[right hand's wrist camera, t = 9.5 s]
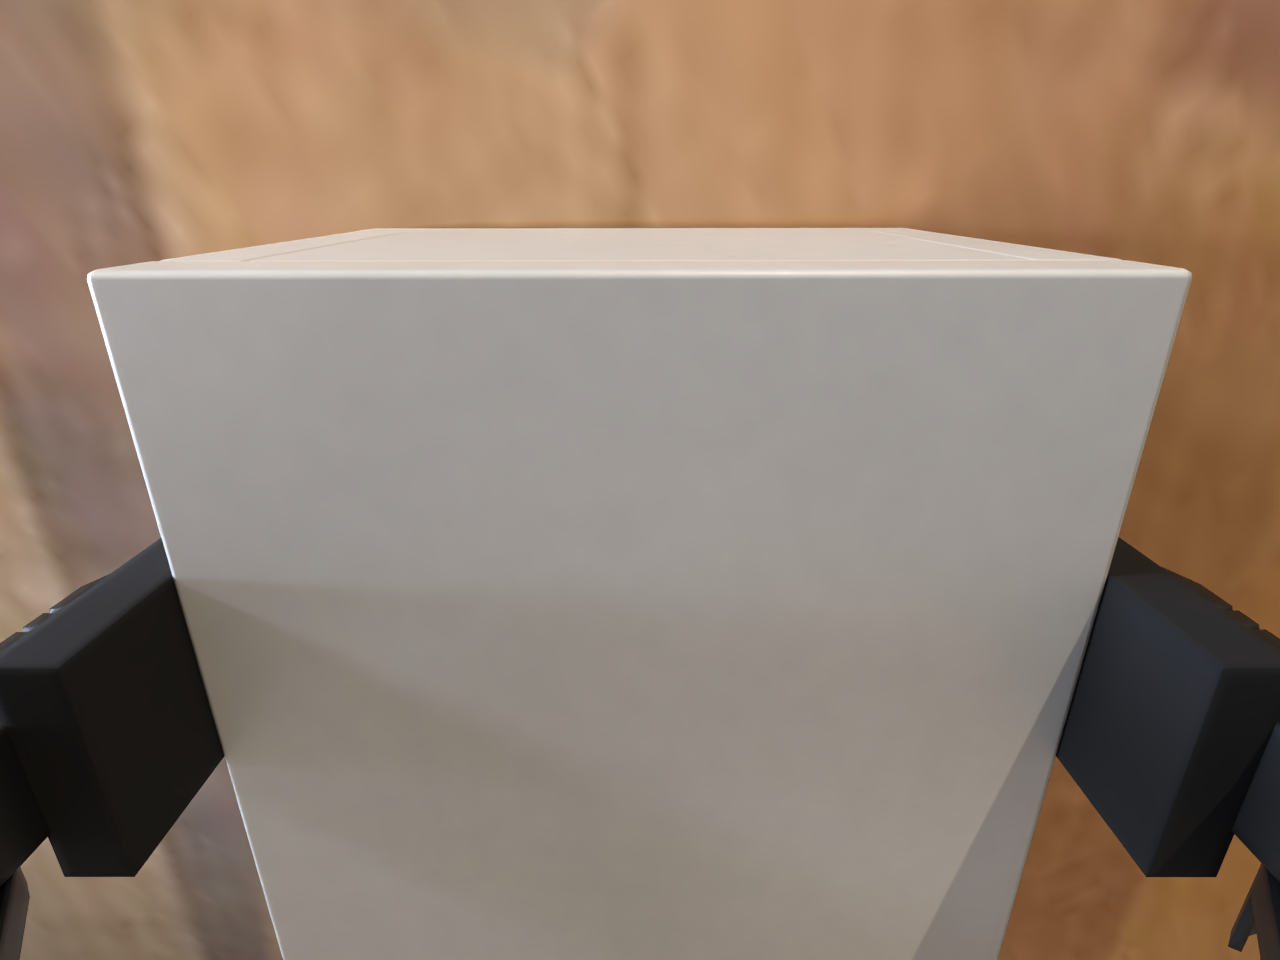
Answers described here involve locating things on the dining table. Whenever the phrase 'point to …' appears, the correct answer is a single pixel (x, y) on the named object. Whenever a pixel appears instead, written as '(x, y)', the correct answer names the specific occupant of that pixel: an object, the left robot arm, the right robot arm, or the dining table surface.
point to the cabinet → (640, 572)
